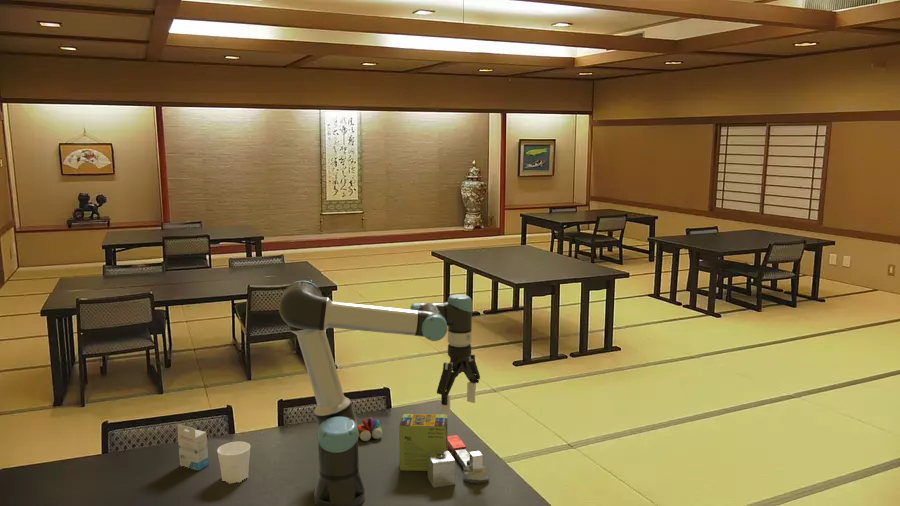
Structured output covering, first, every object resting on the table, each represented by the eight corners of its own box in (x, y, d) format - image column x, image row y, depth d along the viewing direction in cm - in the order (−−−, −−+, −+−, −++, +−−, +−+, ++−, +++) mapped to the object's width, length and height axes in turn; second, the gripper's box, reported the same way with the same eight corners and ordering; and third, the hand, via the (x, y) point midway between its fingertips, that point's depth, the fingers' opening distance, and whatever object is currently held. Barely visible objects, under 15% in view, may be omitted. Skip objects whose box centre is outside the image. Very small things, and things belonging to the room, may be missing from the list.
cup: (218, 486, 213) (216, 456, 211) (219, 472, 222) (218, 443, 221) (251, 482, 216) (250, 452, 214) (252, 468, 225) (250, 439, 224)
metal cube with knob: (433, 487, 212) (433, 461, 210) (427, 477, 218) (427, 452, 217) (455, 484, 214) (454, 458, 212) (448, 474, 220) (448, 449, 219)
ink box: (209, 465, 228) (206, 423, 225) (197, 471, 223) (194, 428, 221) (191, 460, 231) (188, 418, 229) (179, 466, 227) (176, 423, 225)
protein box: (446, 471, 222) (446, 426, 220) (399, 470, 223) (398, 425, 221) (448, 457, 233) (448, 413, 230) (403, 456, 233) (402, 413, 231)
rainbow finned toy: (352, 435, 251) (352, 416, 250) (378, 430, 255) (377, 411, 254) (359, 444, 244) (359, 424, 243) (385, 439, 248) (385, 419, 247)
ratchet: (467, 485, 213) (467, 460, 211) (440, 445, 242) (440, 422, 241) (492, 482, 215) (492, 457, 214) (462, 442, 244) (462, 420, 243)
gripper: (445, 354, 205) (444, 422, 208) (491, 337, 225) (490, 399, 228) (425, 350, 210) (425, 416, 213) (472, 333, 230) (471, 394, 233)
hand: (458, 407), depth 221 cm, fingers open, 13 cm apart
